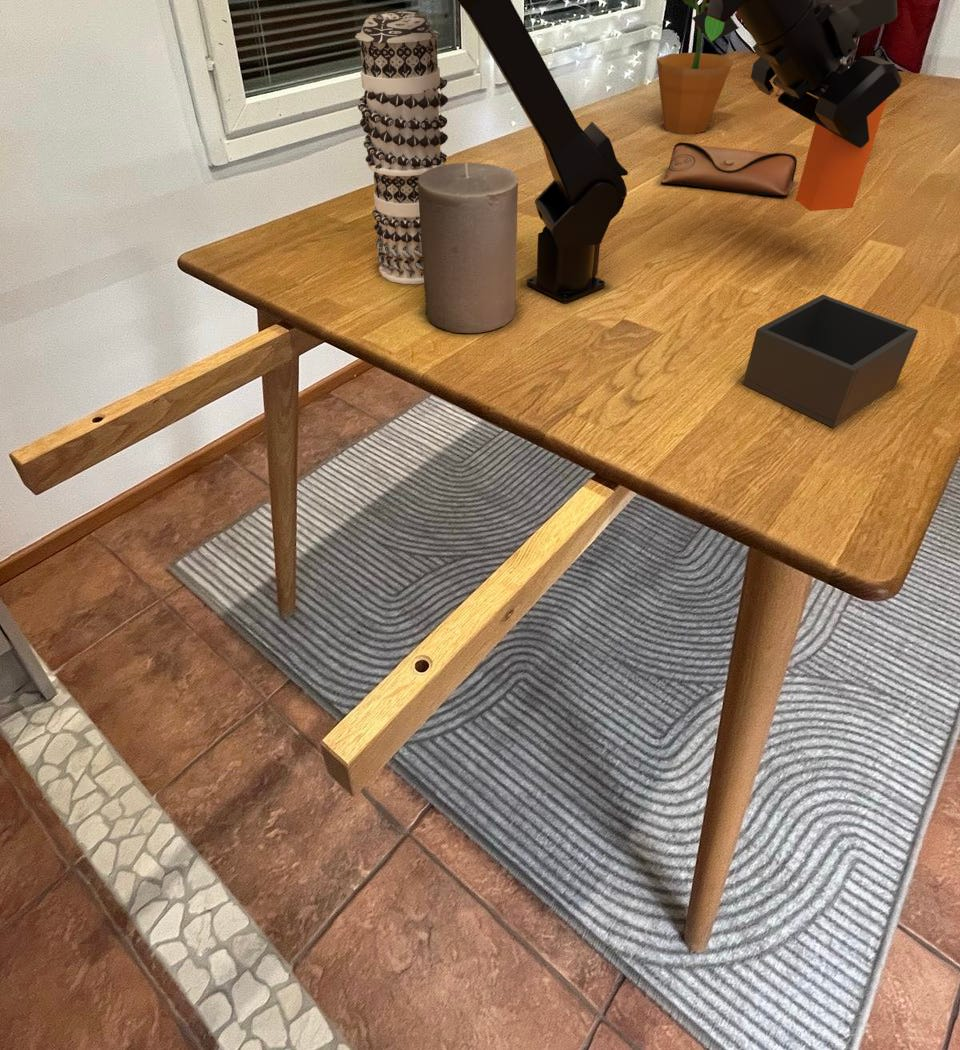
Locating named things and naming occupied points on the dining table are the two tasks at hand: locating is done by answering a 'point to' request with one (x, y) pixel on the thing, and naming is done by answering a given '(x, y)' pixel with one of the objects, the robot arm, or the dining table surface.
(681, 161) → the sunglasses case
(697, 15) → the potted plant
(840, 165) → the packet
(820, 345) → the trash bin
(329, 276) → the dining table surface
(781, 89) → the robot arm
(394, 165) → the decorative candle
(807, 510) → the dining table surface
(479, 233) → the pillar candle
